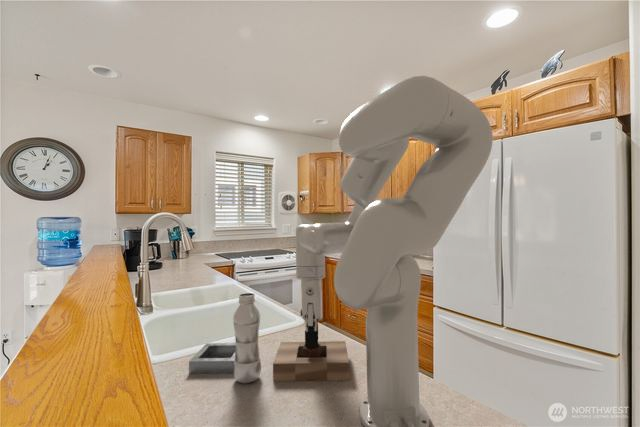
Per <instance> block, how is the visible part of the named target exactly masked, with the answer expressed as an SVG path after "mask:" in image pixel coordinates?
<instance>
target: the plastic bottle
mask: <svg viewBox="0 0 640 427" xmlns="http://www.w3.org/2000/svg"><path fill="white" fill-rule="evenodd" d="M255 303H256V299H255V293H253V292H245V293H241V294H239V295H238V304H239V306H238V307H237V308H236V310H235V312H234V314H233V317H232V322H233V328H234V336H235V343H236V351H235V361H234V368H233V372H234V373H233V376H234V379H235V380H236V381H237V382H239V383H241V384H248V383H249V384H250V383H253V382H255V381H257V380H258V379H259V377H260V375H261V372H262V361H261V357H260V347H259V335H260V332H259V330H260V324H261V313H260V311H259V309H258V308H257V306H256V305H255Z"/></svg>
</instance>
